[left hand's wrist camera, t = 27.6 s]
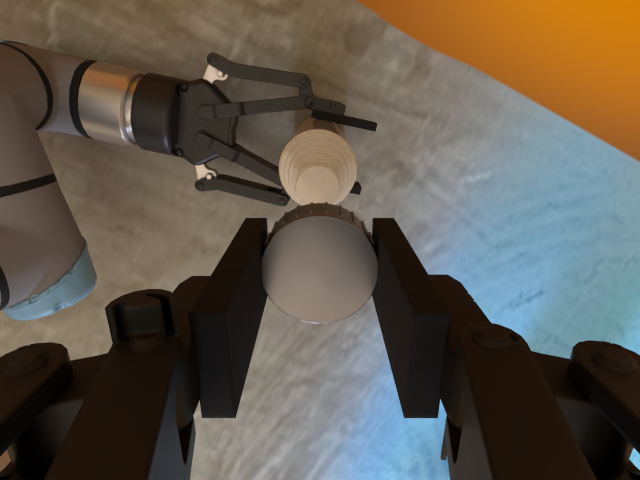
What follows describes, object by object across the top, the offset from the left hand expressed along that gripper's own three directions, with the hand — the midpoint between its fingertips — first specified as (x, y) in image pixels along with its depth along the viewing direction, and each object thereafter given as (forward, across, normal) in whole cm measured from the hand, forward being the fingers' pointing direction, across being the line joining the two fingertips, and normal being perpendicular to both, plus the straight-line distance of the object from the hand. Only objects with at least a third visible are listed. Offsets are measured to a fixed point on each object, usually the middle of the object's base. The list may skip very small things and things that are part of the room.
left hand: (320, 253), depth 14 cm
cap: (-1, 0, 0) cm, 1 cm away
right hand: (+28, -5, +1) cm, 28 cm away
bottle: (+34, 0, 0) cm, 34 cm away
